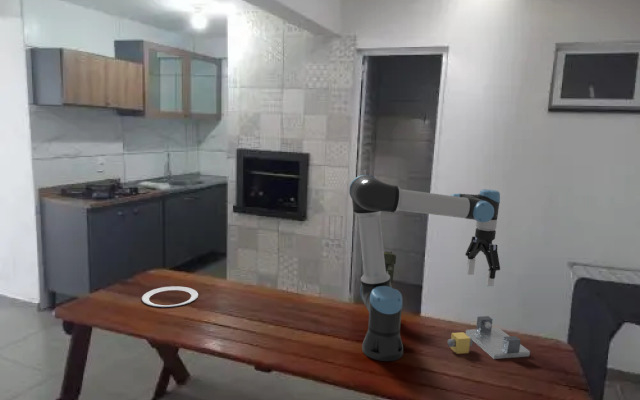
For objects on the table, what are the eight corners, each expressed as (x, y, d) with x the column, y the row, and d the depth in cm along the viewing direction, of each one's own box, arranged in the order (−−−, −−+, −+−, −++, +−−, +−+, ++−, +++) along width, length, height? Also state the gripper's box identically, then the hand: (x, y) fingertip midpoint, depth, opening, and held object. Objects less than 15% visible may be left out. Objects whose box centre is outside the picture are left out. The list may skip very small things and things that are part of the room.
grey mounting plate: (530, 356, 170) (532, 338, 169) (494, 359, 167) (496, 341, 166) (497, 331, 191) (499, 315, 189) (464, 333, 187) (466, 317, 186)
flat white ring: (189, 310, 199) (189, 307, 199) (132, 307, 199) (132, 304, 199) (204, 289, 224) (204, 287, 223) (153, 287, 224) (153, 284, 224)
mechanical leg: (391, 324, 191) (397, 253, 193) (374, 322, 192) (380, 251, 194) (392, 319, 204) (398, 252, 206) (376, 317, 206) (382, 250, 208)
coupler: (451, 354, 170) (453, 339, 169) (445, 347, 175) (446, 333, 174) (473, 352, 172) (475, 337, 171) (466, 346, 177) (468, 331, 176)
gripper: (514, 236, 169) (507, 290, 172) (476, 221, 193) (470, 269, 196) (496, 236, 167) (490, 291, 170) (460, 221, 191) (455, 270, 194)
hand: (479, 280), depth 183 cm, fingers open, 13 cm apart
